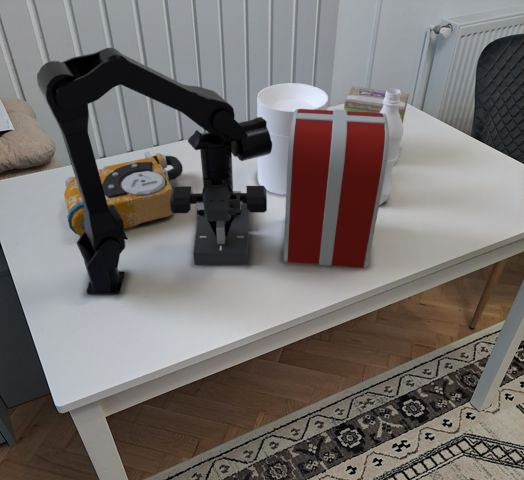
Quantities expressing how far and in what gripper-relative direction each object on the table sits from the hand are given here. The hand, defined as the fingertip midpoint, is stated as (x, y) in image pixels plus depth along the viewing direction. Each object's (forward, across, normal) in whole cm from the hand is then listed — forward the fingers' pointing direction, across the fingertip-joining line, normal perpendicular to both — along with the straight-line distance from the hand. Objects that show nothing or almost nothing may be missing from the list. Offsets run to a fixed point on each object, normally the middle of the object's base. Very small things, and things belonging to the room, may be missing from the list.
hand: (221, 235), depth 109 cm
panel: (+4, 0, 0) cm, 4 cm away
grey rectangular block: (0, 0, 0) cm, 0 cm away
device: (+4, -22, +18) cm, 29 cm away
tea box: (+4, +38, +43) cm, 58 cm away
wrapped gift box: (+4, +23, +2) cm, 23 cm away
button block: (+4, 0, +12) cm, 12 cm away
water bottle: (+4, +36, +19) cm, 41 cm away
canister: (+4, +16, +29) cm, 34 cm away
